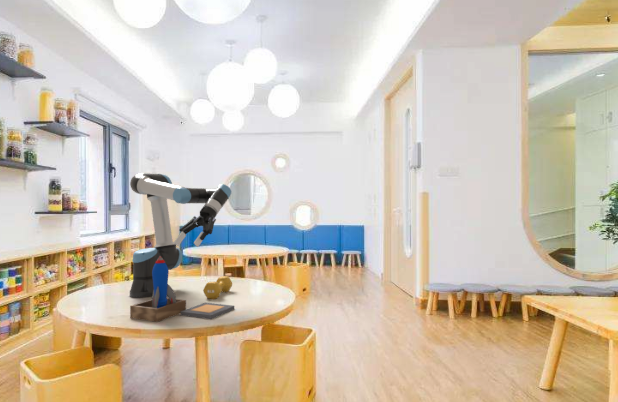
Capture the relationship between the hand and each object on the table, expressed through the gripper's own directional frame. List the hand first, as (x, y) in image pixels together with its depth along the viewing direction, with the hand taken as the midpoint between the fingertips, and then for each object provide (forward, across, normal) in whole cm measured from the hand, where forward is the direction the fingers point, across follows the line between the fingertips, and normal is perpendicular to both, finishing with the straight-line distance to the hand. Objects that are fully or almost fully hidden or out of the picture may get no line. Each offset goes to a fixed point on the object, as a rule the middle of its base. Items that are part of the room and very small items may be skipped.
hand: (185, 244), depth 177 cm
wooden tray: (+30, +1, -10) cm, 31 cm away
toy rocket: (+30, +1, -10) cm, 32 cm away
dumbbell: (+3, +6, -38) cm, 38 cm away
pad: (+20, -14, -20) cm, 32 cm away
